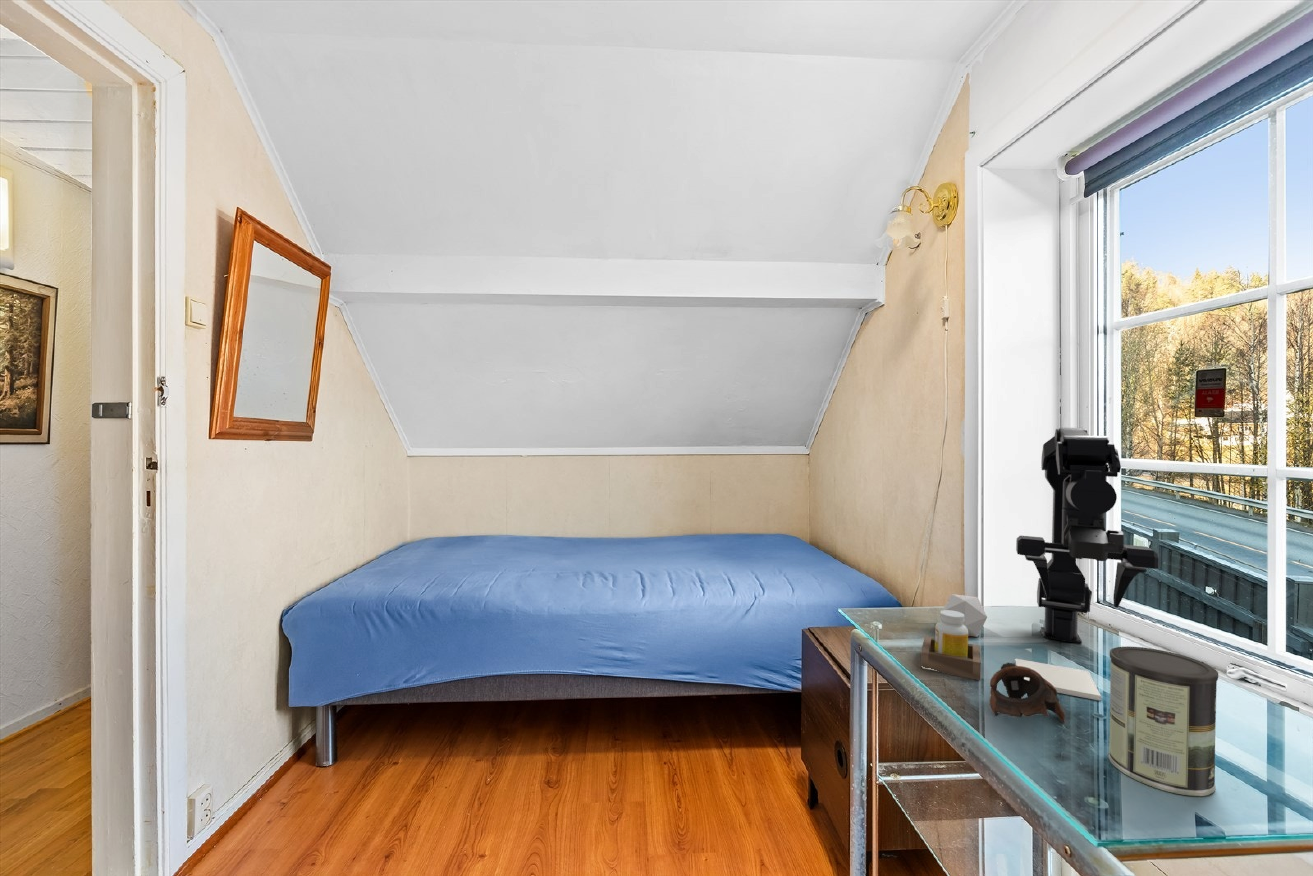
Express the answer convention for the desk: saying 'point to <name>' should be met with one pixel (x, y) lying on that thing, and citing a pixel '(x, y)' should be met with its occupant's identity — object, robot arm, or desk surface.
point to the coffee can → (1163, 719)
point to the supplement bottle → (951, 634)
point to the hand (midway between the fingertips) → (1081, 602)
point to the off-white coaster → (1064, 679)
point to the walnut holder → (952, 660)
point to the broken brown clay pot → (1023, 693)
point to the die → (968, 612)
